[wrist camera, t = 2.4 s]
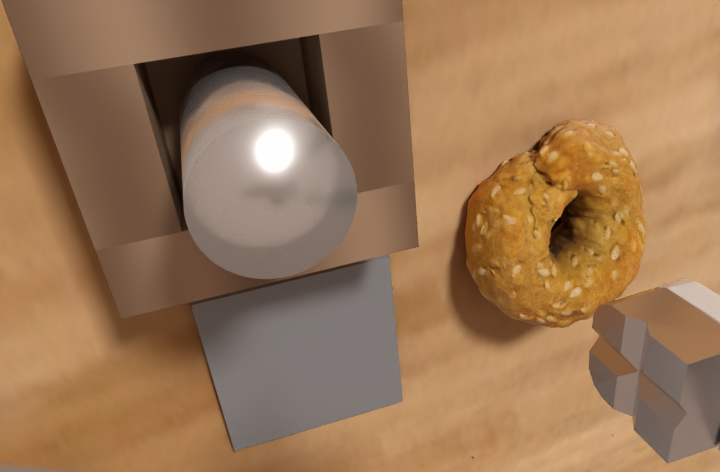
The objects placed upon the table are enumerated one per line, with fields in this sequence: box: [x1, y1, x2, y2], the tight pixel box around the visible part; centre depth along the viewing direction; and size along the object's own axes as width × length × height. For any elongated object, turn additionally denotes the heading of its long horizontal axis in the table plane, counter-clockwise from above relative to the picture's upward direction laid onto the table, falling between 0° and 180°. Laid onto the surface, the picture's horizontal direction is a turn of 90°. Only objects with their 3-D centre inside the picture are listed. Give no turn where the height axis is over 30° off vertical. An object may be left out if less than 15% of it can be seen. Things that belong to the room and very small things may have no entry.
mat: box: [191, 255, 403, 451], centre depth 31 cm, size 10×10×1 cm
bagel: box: [465, 120, 646, 328], centre depth 30 cm, size 10×11×5 cm
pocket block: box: [1, 0, 419, 319], centre depth 22 cm, size 12×12×5 cm
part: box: [179, 52, 357, 279], centre depth 19 cm, size 4×4×10 cm
